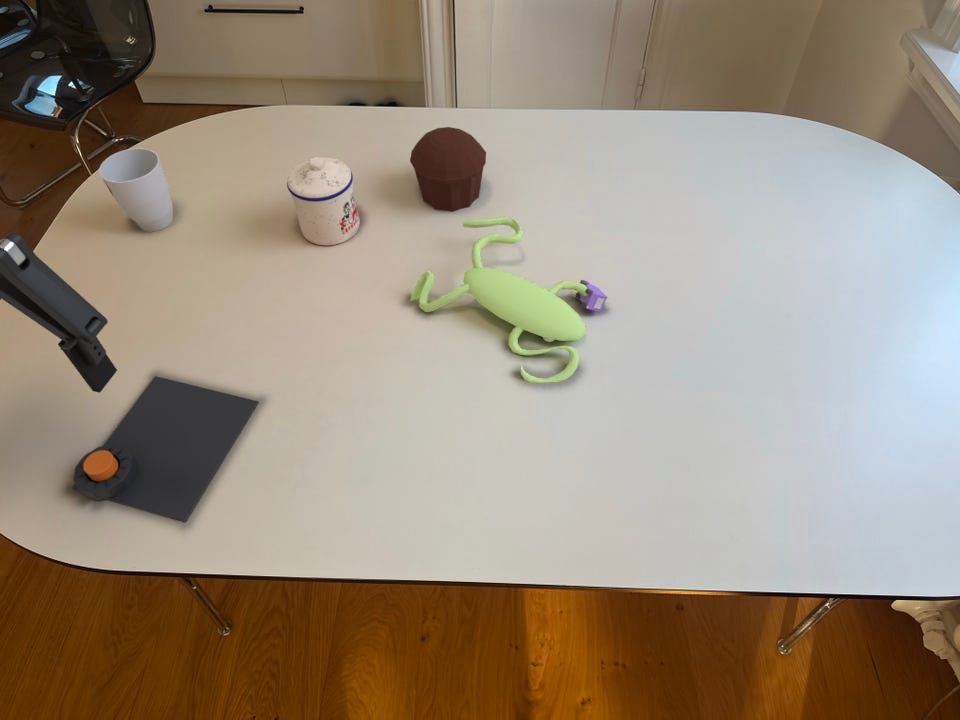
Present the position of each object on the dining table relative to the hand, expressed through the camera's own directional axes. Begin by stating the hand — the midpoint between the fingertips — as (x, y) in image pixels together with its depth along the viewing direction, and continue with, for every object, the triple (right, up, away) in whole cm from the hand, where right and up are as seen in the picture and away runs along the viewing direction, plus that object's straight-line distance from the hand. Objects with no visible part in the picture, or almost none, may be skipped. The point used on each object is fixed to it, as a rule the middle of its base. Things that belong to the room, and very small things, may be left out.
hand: (43, 366), depth 66 cm
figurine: (+45, +8, +28) cm, 53 cm away
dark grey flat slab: (+6, -10, +14) cm, 18 cm away
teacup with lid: (+19, +21, +40) cm, 49 cm away
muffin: (+36, +26, +43) cm, 63 cm away
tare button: (0, -11, +10) cm, 15 cm away
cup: (-8, +22, +41) cm, 47 cm away
